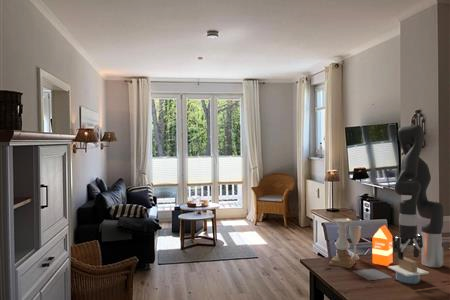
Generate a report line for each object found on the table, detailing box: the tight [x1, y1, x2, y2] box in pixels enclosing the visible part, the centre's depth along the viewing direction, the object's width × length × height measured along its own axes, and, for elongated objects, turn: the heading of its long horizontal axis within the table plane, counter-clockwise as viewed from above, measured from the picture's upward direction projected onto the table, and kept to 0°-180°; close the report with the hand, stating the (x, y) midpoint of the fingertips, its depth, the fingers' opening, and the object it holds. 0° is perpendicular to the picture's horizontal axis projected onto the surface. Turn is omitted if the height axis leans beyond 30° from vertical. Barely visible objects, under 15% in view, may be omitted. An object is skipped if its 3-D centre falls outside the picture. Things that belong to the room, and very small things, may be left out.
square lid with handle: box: [387, 256, 430, 276], centre depth 169 cm, size 12×12×5 cm
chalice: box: [348, 224, 362, 261], centre depth 202 cm, size 7×7×18 cm
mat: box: [352, 268, 393, 281], centre depth 176 cm, size 13×13×1 cm
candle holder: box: [329, 217, 357, 269], centre depth 192 cm, size 11×11×24 cm
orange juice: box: [371, 224, 394, 267], centre depth 194 cm, size 8×9×20 cm
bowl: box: [395, 271, 421, 285], centre depth 169 cm, size 10×10×5 cm
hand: (408, 258), depth 169 cm, fingers open, 8 cm apart
